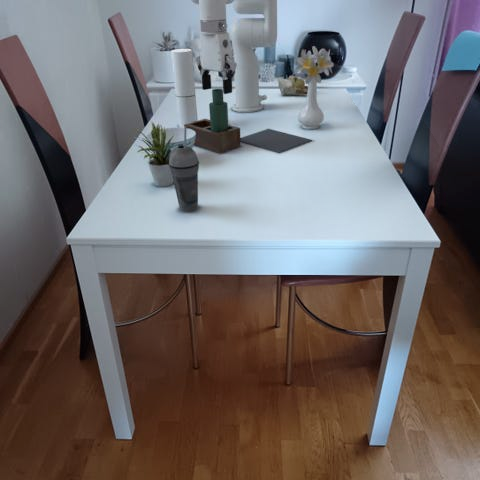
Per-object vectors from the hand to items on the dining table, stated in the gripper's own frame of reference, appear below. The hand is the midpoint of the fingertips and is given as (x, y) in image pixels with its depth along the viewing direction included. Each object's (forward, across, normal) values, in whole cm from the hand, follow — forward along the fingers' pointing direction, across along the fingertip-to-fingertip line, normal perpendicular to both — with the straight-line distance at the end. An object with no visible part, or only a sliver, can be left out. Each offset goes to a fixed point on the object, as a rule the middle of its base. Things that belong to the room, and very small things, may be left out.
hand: (217, 91), depth 152 cm
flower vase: (+17, -9, -36) cm, 41 cm away
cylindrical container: (+17, +28, -9) cm, 34 cm away
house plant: (+18, -10, +32) cm, 37 cm away
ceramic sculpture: (+16, +28, -70) cm, 77 cm away
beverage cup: (+18, -30, +38) cm, 51 cm away
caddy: (+17, +4, 0) cm, 18 cm away
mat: (+17, -9, -16) cm, 25 cm away
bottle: (+17, 0, 0) cm, 17 cm away
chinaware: (+18, +2, +18) cm, 25 cm away
